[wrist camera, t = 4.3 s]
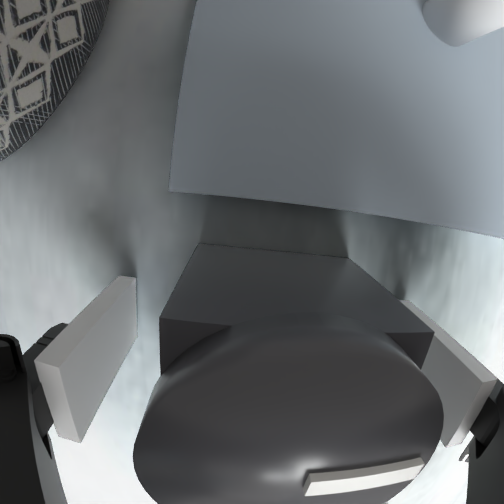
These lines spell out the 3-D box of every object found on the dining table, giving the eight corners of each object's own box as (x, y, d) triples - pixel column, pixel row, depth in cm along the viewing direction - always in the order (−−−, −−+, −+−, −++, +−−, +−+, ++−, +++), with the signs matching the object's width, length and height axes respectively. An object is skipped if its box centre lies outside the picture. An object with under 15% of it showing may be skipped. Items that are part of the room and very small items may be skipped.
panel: (176, 189, 12) (110, 208, 5) (236, -115, 7) (238, -190, 1) (537, 244, 13) (615, 276, 7) (526, -5, 9) (583, -27, 2)
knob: (183, 378, 14) (150, 534, 6) (189, 232, 12) (106, 340, 4) (327, 386, 14) (381, 529, 6) (359, 249, 12) (496, 351, 4)
